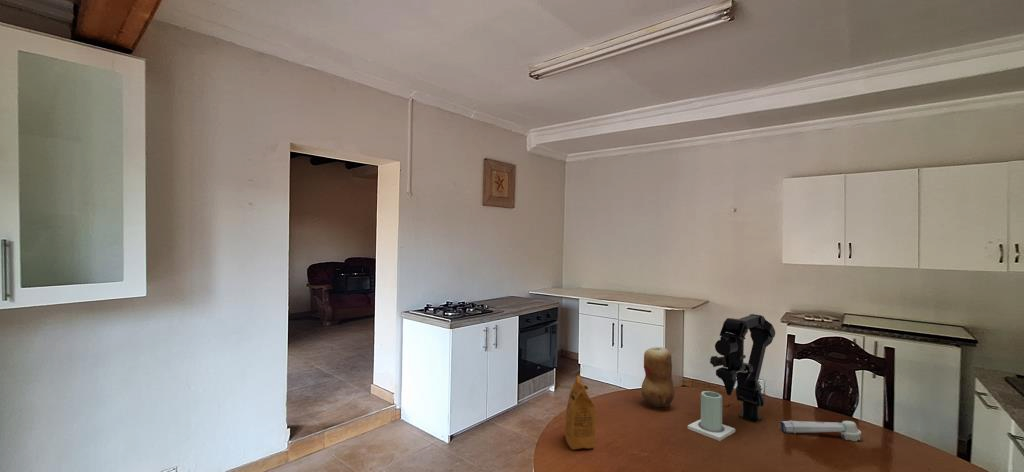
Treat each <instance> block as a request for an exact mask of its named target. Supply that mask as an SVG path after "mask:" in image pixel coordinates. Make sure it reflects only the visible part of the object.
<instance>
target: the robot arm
mask: <svg viewBox="0 0 1024 472" xmlns="http://www.w3.org/2000/svg"><path fill="white" fill-rule="evenodd" d="M748 332H750V338H751V340H752V346H751V350H750V354H749V358H748V362H744V359H746V355H745V353H744V350H745V349H744V348H745V347H744V345H745V340H746V335H747V334H748ZM775 336H776V330H775V328H774V326H773V324H772V323H770V322H769V321H768V320H766V317H764V316H763V315H761V314H754V313H750V314H749V315H746V316H744V317H740V318H733V317H731V318H730V317H727V318H726V319H725V320H724V321H723V324H722V327H721V329H720V333H719V337H720V339H718V340H717V341H716V342H715V343H714V348H715V352H716V353H717V354H718V355H720V356H718V355H715V356H714V355H713V356H710V359H709V363H710V364H711V366H712V367H713V368H716V367H718V368H717V369H716V370H715V376H716V377H717V378H719V379H720V380H722V382H723V385H724V389H725V391H726V395H728V396H731V395H732V393H733V390H734V389H735V394H736V400H737V401H740V402H742V407H741V408H742V413H741V414H738V417H739V418H742V419H745V420H748V421H752V422H754V423H757V422H758V421H761V420H762V419H763V416H761V415H759V414H760V412H759V411H760V407H765V399H766V398H765V397H764V395H763V393H762V386H761V385H760V381H759V380H760V375H761V370H762V366H763V361H764V358H765V353H766V349H767V347H768V346H770V345H771V344H772V343H773V339H774V338H775ZM736 384H737V385H736ZM735 385H736V387H735Z"/></svg>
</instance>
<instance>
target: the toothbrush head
mask: <svg viewBox="0 0 1024 472" xmlns="http://www.w3.org/2000/svg"><path fill="white" fill-rule="evenodd" d="M779 425H780V427H779V428H781V431H782V432H783V433H784V434H785V433H786V434H788V433H789V434H794V435H795V434H796V433H797V434H800V433H801V434H802V433H803V434H804V433H805V434H807V433H839V434H840V436H841V437H840V438H842V439H844V440H847V441H852V442H858V441H861V435H862V431H861V430H859V429H858V426H857V423H856V422H854V421H852V420H842V422H837V421H835V422H830V421H807V420H806V421H802V420H792V419H790V420H782V421H780V422H779Z"/></svg>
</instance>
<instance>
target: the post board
mask: <svg viewBox="0 0 1024 472" xmlns="http://www.w3.org/2000/svg"><path fill="white" fill-rule="evenodd" d="M687 429H688V430H689V431H693V432H695V433H698V434H701V435H703V436H706V437H708V438H710V439H713V440H715V441H719V442H721V441H722V440H725V438H727V437H729V436H731V435H733V434H734V433H736V428H734V427H732V426H729V425H726V424H723V423H722V429H721V430H720V431H712V430H709V429H705V428H704V427H702V426H701V418H700V419H698V420H696V421H694V422H692V423H689V424H688V425H687Z"/></svg>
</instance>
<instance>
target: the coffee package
mask: <svg viewBox="0 0 1024 472" xmlns="http://www.w3.org/2000/svg"><path fill="white" fill-rule="evenodd" d="M582 382H583V379H582V377H581V376H580V375H577V376H576V378H575V380H574V383H573V385H572V388H571V389H570V393H569V395H568V402H567V406H566V412H565V428H564V429H565V430H564V431H565V441H566V444H567V445H568V446H569V447H570V450H580V449H592V448H593V449H594V448H595V439H596V432H597V429H596V428H597V427H596V410H595V408H596V407H595V404H594V402H593V401H592V399H591V398H590V396H589V395H588V393H587V390H589V387H588V386H587V385H586V384H585V383H584V384H583V383H582Z"/></svg>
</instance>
